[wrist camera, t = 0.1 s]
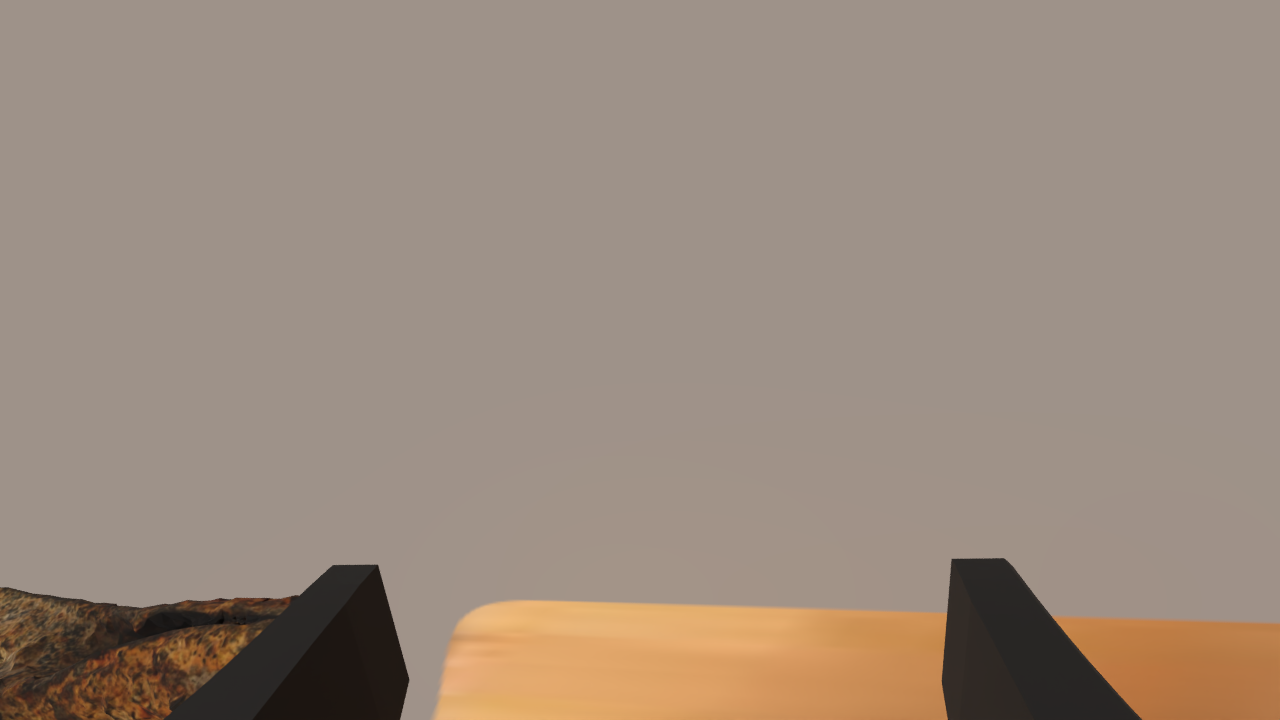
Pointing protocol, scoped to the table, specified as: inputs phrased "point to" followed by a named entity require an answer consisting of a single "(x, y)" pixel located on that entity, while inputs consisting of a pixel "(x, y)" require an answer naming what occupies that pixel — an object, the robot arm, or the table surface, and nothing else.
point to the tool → (117, 653)
